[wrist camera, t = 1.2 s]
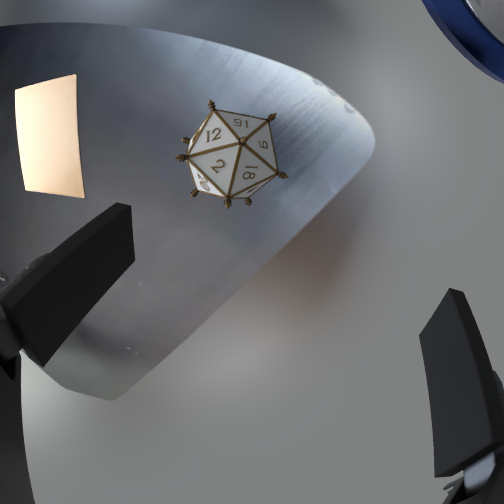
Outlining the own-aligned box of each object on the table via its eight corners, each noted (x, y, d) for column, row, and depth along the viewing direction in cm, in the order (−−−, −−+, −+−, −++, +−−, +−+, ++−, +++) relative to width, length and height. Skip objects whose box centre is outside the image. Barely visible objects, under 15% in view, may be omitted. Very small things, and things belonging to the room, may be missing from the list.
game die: (264, 153, 30) (264, 241, 27) (182, 139, 28) (166, 228, 24) (296, 90, 22) (308, 185, 19) (195, 68, 20) (171, 160, 16)
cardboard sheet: (76, 74, 25) (76, 74, 25) (85, 197, 34) (84, 197, 34) (15, 90, 28) (14, 90, 27) (26, 190, 36) (25, 190, 36)
